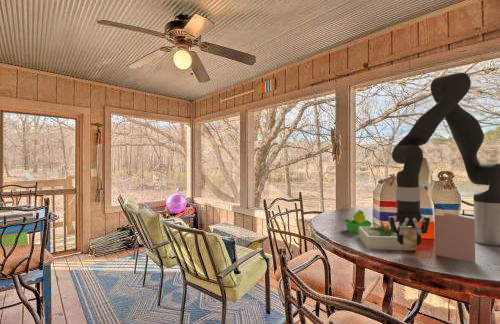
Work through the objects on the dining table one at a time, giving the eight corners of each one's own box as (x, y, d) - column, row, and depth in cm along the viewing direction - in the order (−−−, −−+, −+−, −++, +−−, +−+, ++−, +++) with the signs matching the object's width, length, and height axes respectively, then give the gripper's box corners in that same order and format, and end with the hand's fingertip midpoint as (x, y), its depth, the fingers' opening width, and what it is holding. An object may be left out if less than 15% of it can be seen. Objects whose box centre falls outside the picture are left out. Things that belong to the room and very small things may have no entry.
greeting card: (477, 262, 90) (476, 218, 90) (459, 264, 89) (459, 220, 89) (446, 250, 101) (445, 212, 101) (430, 252, 100) (429, 213, 100)
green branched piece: (399, 240, 112) (398, 221, 112) (370, 240, 113) (369, 222, 113) (395, 238, 115) (395, 220, 115) (367, 238, 116) (367, 220, 116)
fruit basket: (367, 229, 134) (366, 207, 134) (373, 234, 125) (373, 211, 125) (344, 229, 135) (343, 207, 135) (348, 234, 126) (348, 211, 126)
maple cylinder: (413, 243, 100) (413, 225, 100) (419, 248, 95) (419, 229, 95) (399, 243, 101) (398, 225, 100) (404, 248, 96) (404, 229, 95)
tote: (400, 238, 118) (399, 227, 118) (415, 250, 103) (415, 237, 103) (358, 237, 121) (358, 226, 121) (368, 248, 106) (367, 236, 106)
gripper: (390, 200, 95) (392, 247, 95) (434, 200, 92) (435, 248, 93) (383, 197, 102) (385, 240, 103) (424, 196, 100) (425, 241, 100)
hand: (409, 243), depth 98 cm, fingers closed on maple cylinder, 5 cm apart
